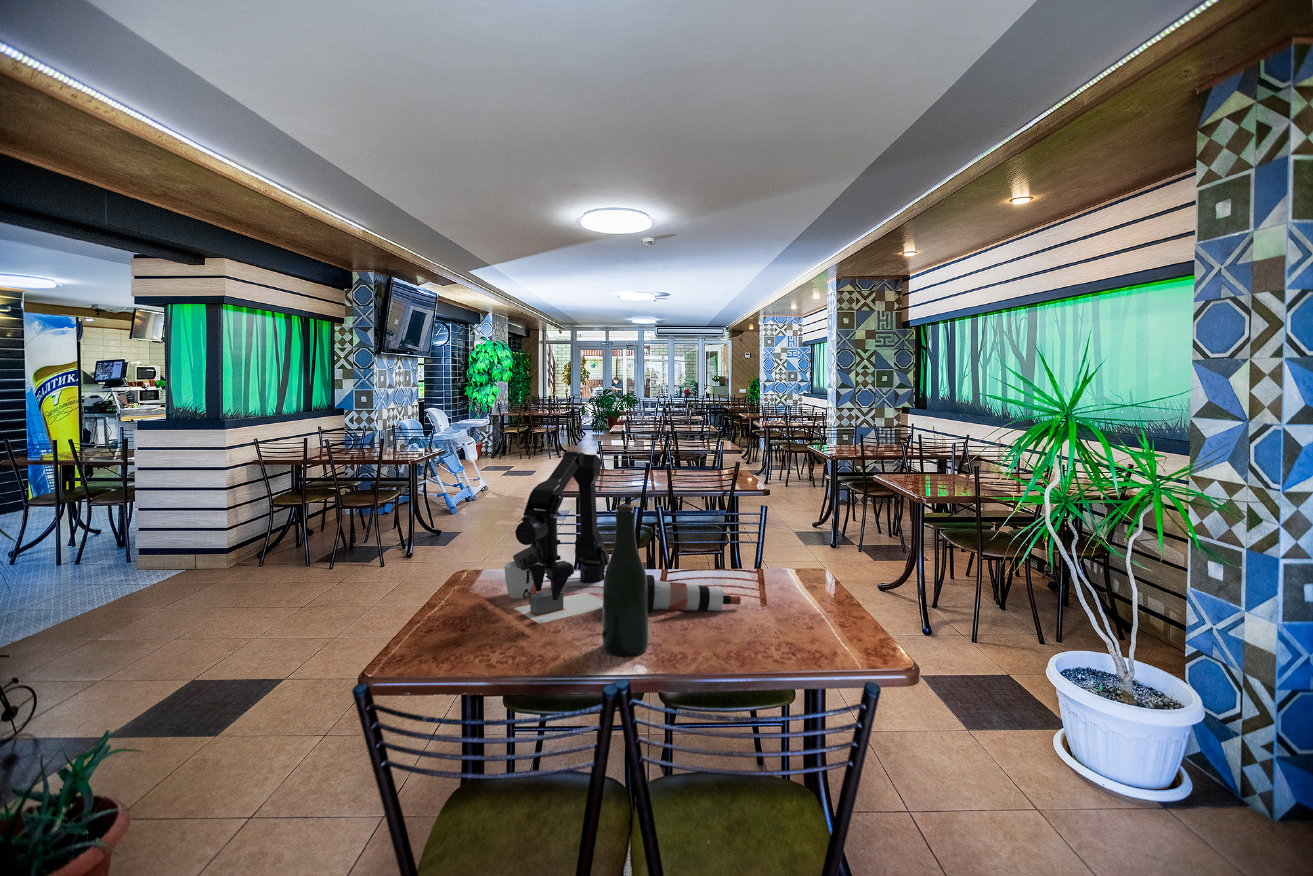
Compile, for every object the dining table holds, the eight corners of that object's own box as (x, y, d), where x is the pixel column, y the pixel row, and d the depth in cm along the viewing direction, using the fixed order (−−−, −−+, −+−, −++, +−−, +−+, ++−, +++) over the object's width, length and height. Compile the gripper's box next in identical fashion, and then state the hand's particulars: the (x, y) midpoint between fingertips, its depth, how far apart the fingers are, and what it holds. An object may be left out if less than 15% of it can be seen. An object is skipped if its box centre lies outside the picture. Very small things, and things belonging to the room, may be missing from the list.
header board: (585, 596, 185) (585, 583, 185) (613, 609, 174) (613, 596, 174) (513, 612, 172) (513, 598, 172) (538, 628, 161) (538, 613, 160)
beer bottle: (623, 636, 156) (623, 499, 153) (657, 647, 149) (658, 504, 147) (592, 649, 148) (592, 505, 145) (627, 662, 141) (627, 511, 139)
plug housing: (557, 605, 174) (556, 589, 173) (563, 609, 171) (563, 592, 170) (530, 612, 169) (530, 595, 168) (536, 615, 166) (536, 598, 166)
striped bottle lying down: (738, 628, 173) (747, 601, 168) (610, 620, 169) (615, 592, 164) (732, 600, 182) (740, 573, 177) (610, 592, 177) (615, 564, 172)
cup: (528, 604, 178) (528, 568, 177) (500, 603, 179) (499, 567, 178) (538, 595, 186) (538, 561, 185) (511, 594, 187) (510, 559, 186)
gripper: (501, 534, 171) (502, 592, 172) (534, 548, 156) (535, 612, 157) (539, 528, 177) (540, 584, 179) (574, 541, 163) (575, 602, 164)
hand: (546, 595), depth 169 cm, fingers open, 9 cm apart
